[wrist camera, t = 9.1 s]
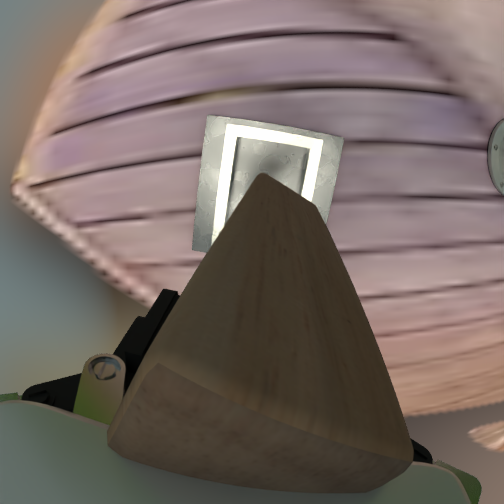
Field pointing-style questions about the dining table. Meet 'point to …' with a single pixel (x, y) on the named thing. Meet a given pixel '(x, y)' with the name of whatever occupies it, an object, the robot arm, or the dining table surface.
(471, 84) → the dining table surface
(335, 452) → the wooden block
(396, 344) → the dining table surface
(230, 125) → the end cap
